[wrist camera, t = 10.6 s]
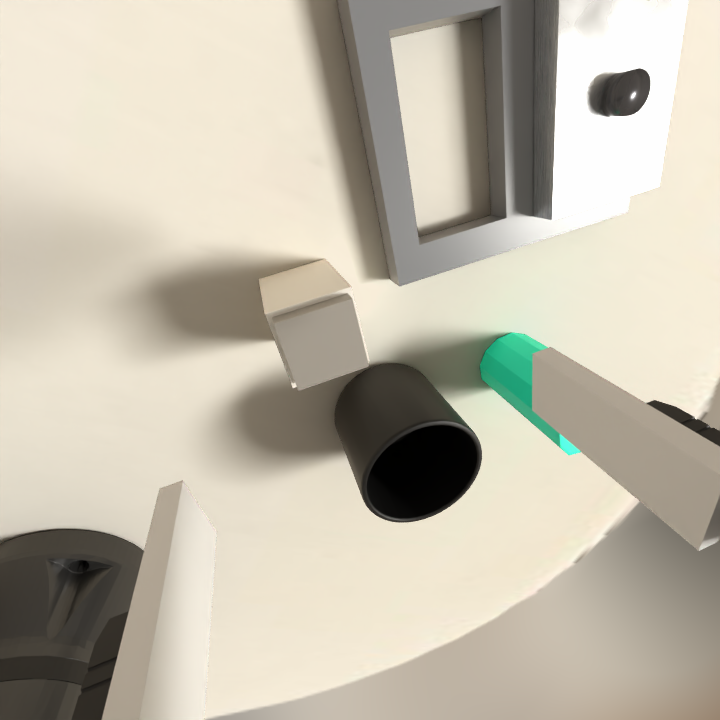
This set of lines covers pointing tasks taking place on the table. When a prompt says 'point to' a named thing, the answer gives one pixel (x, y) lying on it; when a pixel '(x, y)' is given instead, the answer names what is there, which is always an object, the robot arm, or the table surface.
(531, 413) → the candle
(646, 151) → the panel
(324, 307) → the plug
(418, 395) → the mug
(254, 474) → the table surface
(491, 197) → the grey flat frame
